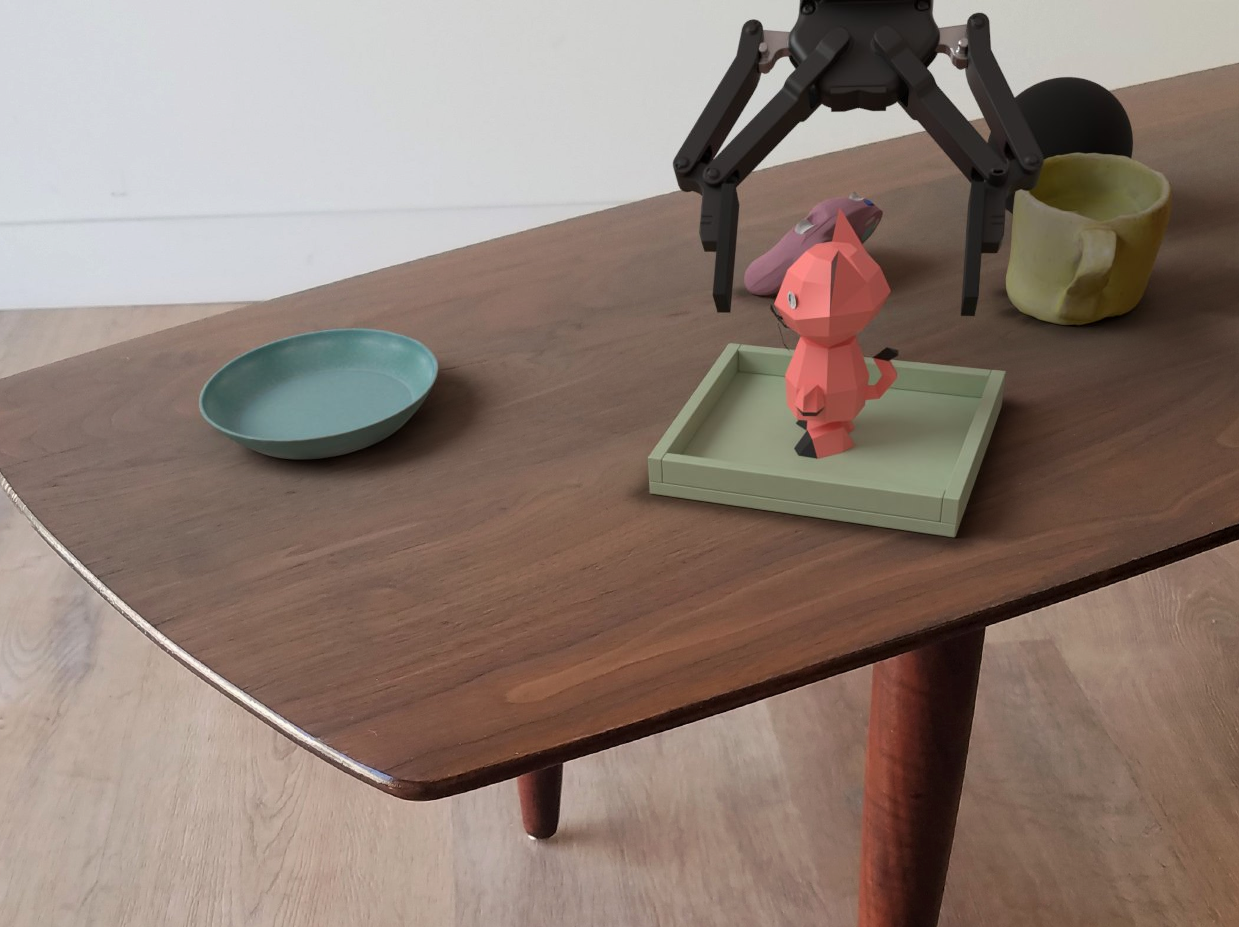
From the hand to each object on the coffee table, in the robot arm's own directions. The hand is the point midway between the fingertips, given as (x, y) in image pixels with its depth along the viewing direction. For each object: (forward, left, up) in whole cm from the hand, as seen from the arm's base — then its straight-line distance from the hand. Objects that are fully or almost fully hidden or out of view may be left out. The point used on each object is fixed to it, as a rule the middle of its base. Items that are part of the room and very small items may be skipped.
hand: (843, 306), depth 77 cm
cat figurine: (0, +4, -6) cm, 7 cm away
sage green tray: (0, +4, -7) cm, 8 cm away
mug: (-11, -18, -7) cm, 22 cm away
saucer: (+31, +8, -7) cm, 32 cm away
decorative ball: (-7, -33, -7) cm, 35 cm away
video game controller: (+7, -19, -7) cm, 22 cm away
